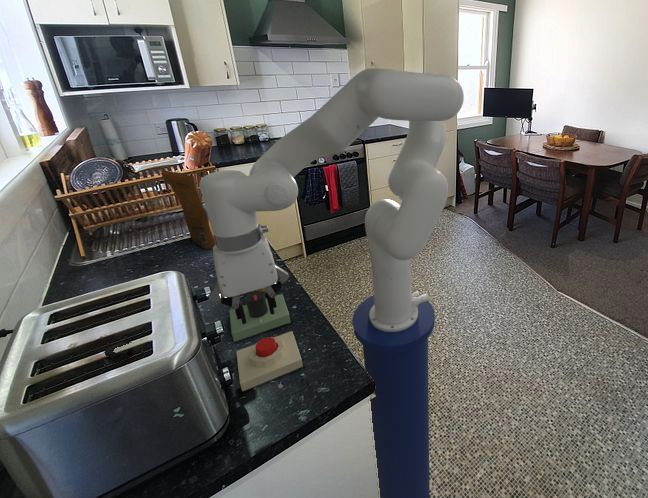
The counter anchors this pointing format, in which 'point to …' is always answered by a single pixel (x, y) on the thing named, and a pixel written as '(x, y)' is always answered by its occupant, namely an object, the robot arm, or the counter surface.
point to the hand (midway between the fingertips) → (258, 314)
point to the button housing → (268, 362)
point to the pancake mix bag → (191, 207)
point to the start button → (266, 347)
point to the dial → (256, 304)
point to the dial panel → (259, 320)
